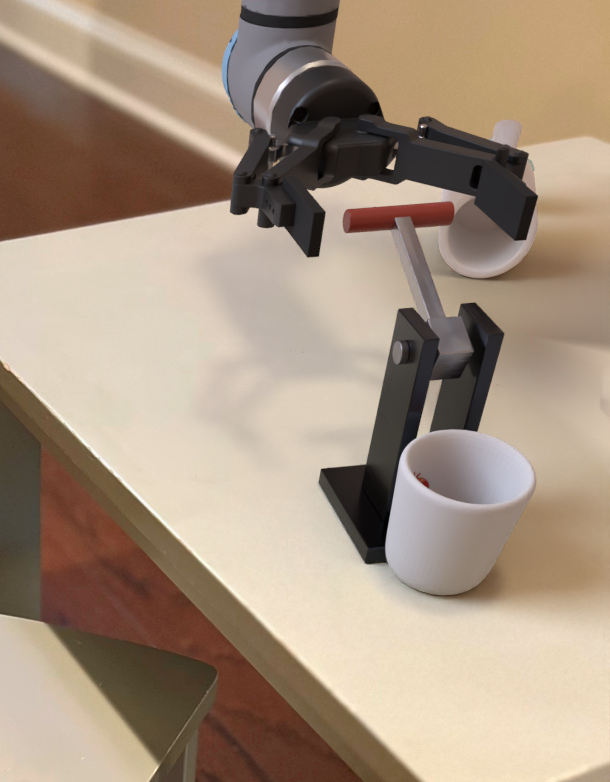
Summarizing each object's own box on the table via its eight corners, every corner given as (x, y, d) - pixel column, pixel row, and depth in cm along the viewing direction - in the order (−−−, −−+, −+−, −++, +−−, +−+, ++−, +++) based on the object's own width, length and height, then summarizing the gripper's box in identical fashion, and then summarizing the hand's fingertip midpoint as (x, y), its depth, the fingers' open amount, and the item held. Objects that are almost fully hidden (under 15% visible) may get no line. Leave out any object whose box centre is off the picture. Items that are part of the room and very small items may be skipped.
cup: (414, 494, 81) (446, 392, 75) (527, 535, 79) (570, 433, 72) (350, 579, 76) (380, 477, 69) (469, 628, 73) (511, 525, 67)
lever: (338, 228, 78) (348, 197, 75) (440, 220, 78) (453, 190, 76) (388, 385, 73) (401, 357, 70) (497, 375, 73) (512, 347, 71)
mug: (521, 239, 113) (558, 102, 105) (523, 283, 106) (563, 140, 98) (432, 232, 115) (462, 97, 107) (428, 275, 108) (460, 133, 100)
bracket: (317, 482, 84) (351, 291, 74) (438, 471, 85) (488, 280, 75) (364, 564, 77) (408, 364, 67) (496, 550, 78) (559, 351, 68)
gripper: (464, 161, 92) (593, 271, 77) (151, 184, 90) (221, 302, 75) (489, 52, 86) (632, 147, 72) (157, 74, 85) (233, 177, 70)
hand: (422, 227), depth 73 cm, fingers open, 13 cm apart
